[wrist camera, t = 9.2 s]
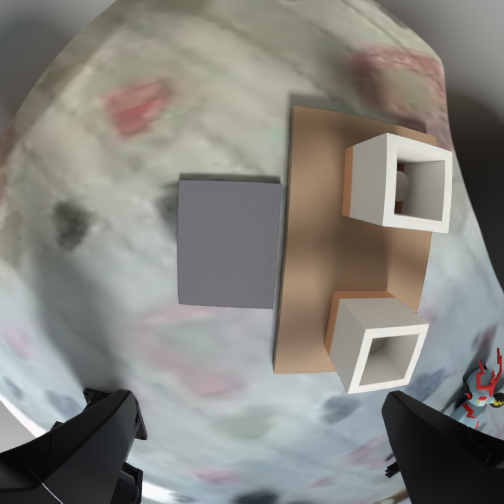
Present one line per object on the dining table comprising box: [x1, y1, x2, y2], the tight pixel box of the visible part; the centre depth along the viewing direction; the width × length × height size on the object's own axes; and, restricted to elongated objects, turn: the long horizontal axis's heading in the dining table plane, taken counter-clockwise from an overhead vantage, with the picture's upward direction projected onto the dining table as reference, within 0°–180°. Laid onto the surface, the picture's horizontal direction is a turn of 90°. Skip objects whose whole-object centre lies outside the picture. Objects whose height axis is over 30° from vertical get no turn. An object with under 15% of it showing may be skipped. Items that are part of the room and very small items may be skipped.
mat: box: [178, 180, 281, 309], centre depth 19 cm, size 9×7×1 cm
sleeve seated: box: [324, 291, 429, 394], centre depth 17 cm, size 5×5×6 cm
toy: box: [385, 348, 504, 478], centre depth 23 cm, size 26×8×30 cm
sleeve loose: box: [341, 133, 452, 233], centre depth 15 cm, size 5×5×6 cm
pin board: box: [273, 106, 436, 374], centre depth 17 cm, size 20×12×5 cm, turn 177°
